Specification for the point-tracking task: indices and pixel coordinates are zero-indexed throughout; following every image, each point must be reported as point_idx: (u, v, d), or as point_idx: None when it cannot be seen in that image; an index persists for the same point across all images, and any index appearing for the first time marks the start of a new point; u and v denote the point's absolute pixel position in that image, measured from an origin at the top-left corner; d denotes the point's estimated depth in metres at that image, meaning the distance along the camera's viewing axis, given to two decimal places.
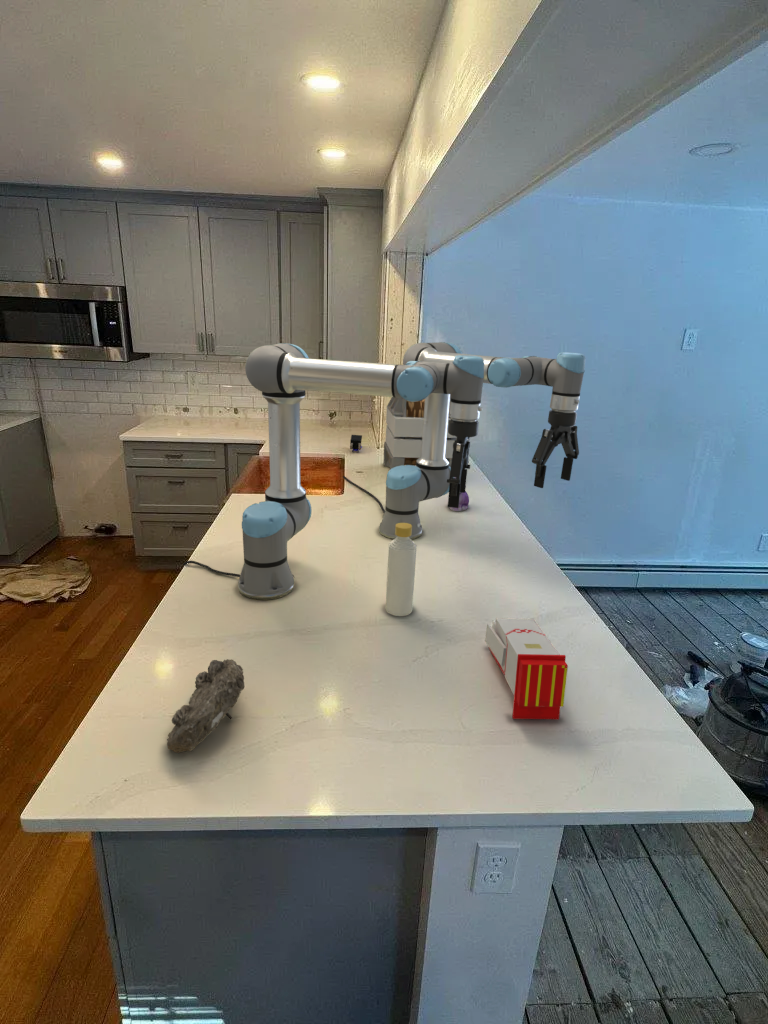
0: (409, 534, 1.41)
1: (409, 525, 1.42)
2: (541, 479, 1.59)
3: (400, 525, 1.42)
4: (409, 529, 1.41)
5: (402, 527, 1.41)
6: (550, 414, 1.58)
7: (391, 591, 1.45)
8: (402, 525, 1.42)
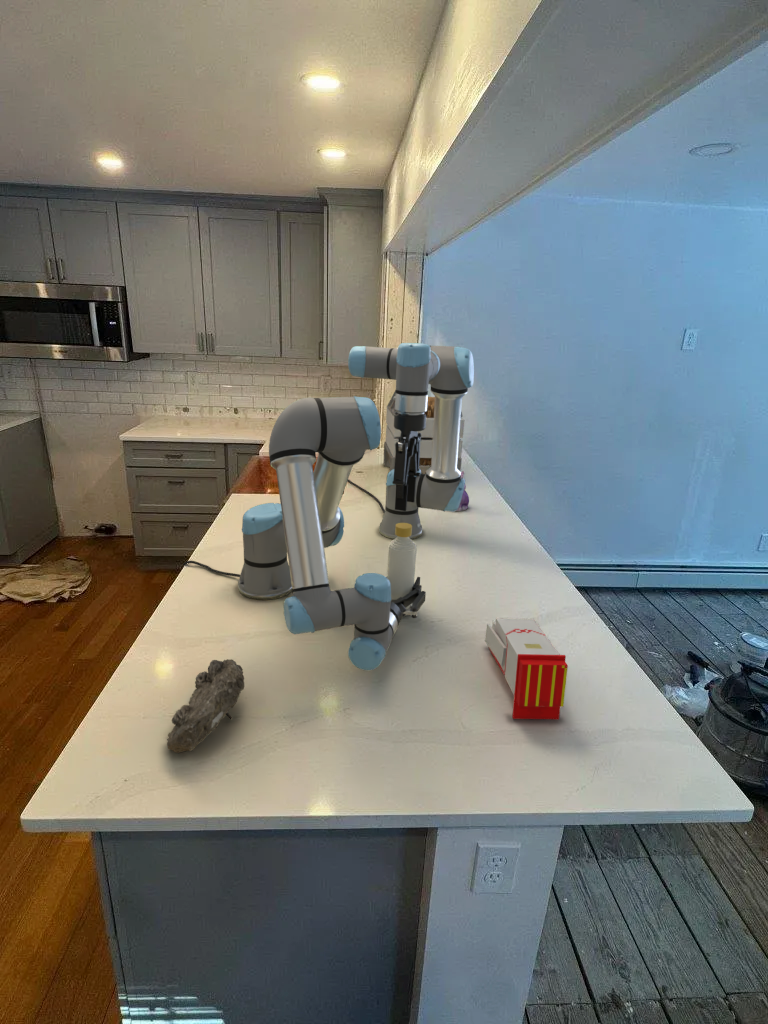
0: (409, 534, 1.41)
1: (409, 525, 1.42)
2: None
3: (400, 525, 1.42)
4: (409, 529, 1.41)
5: (402, 527, 1.41)
6: None
7: (391, 591, 1.45)
8: (402, 525, 1.42)
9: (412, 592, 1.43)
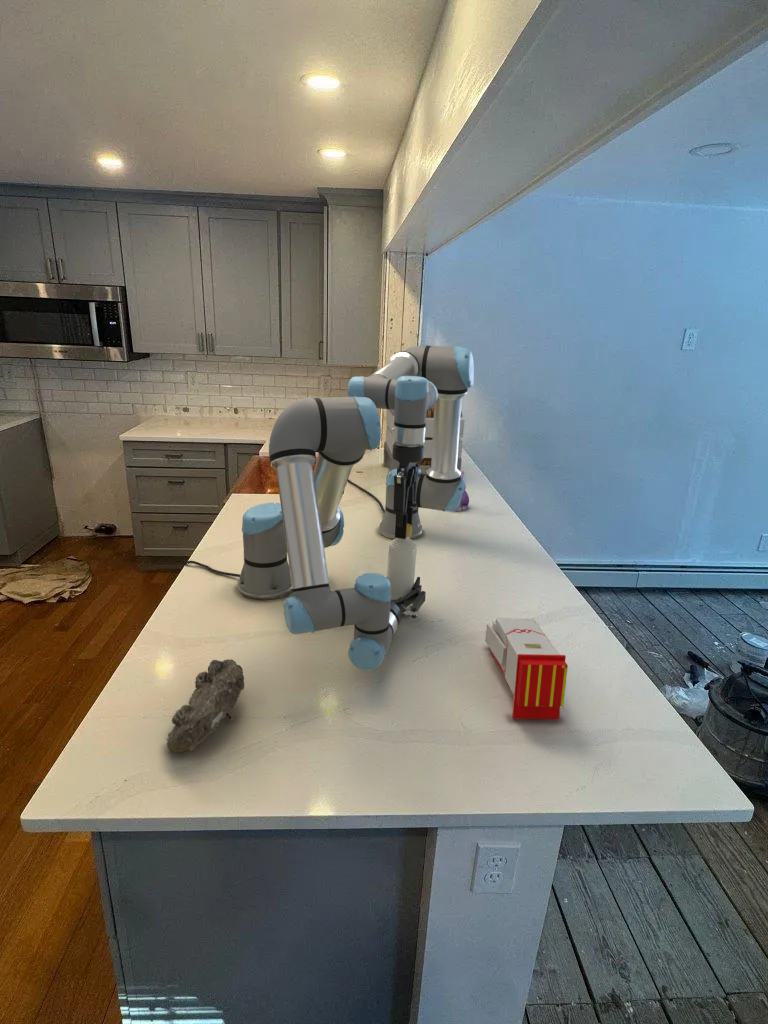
0: (409, 534, 1.41)
1: (409, 525, 1.42)
2: None
3: None
4: (409, 529, 1.41)
5: None
6: None
7: (391, 591, 1.45)
8: None
9: (412, 592, 1.43)
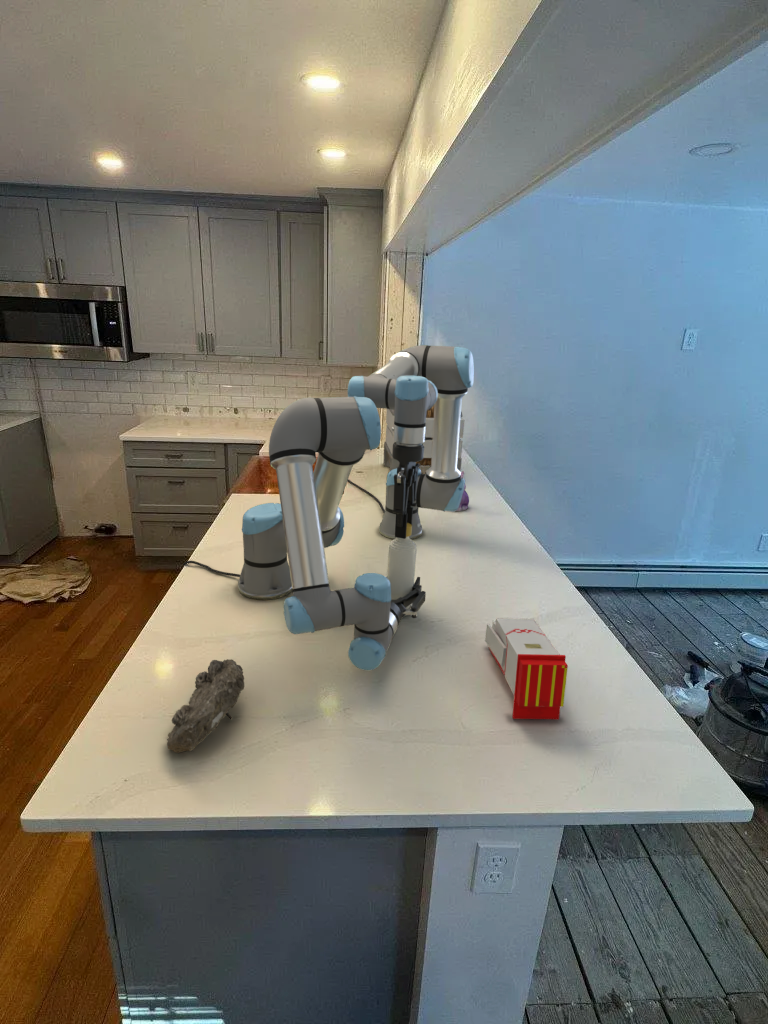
0: None
1: None
2: None
3: None
4: None
5: (409, 526, 1.41)
6: None
7: (391, 591, 1.45)
8: None
9: (412, 592, 1.43)
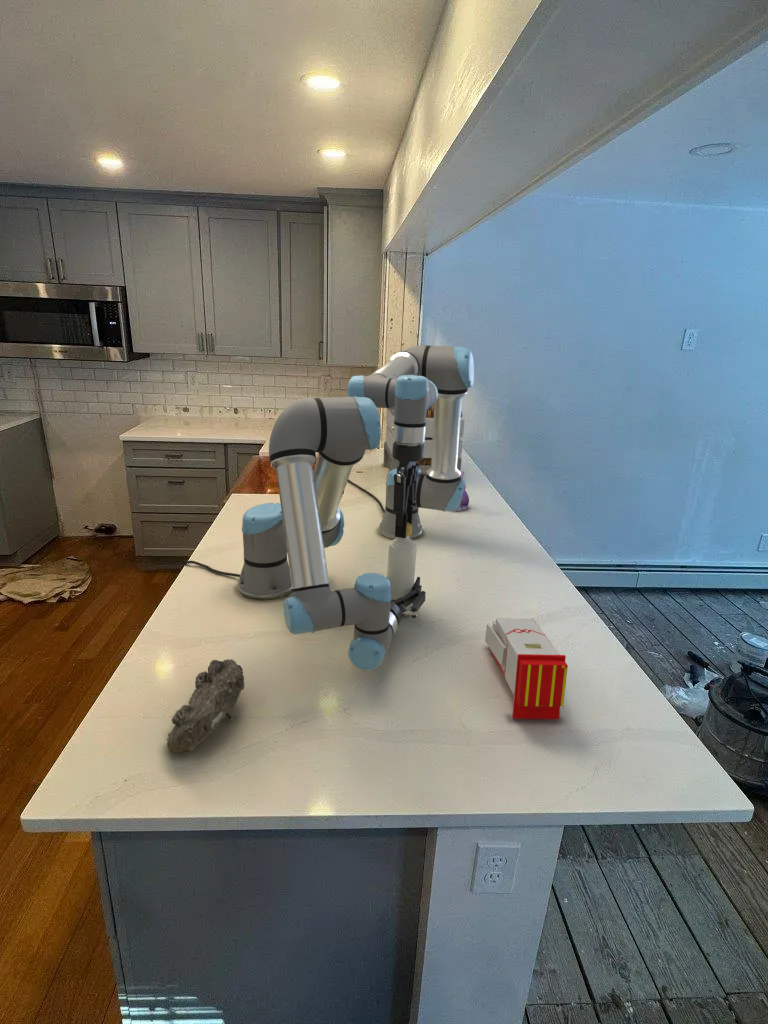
0: None
1: None
2: None
3: (407, 525, 1.42)
4: None
5: None
6: None
7: (391, 591, 1.45)
8: None
9: (412, 592, 1.43)
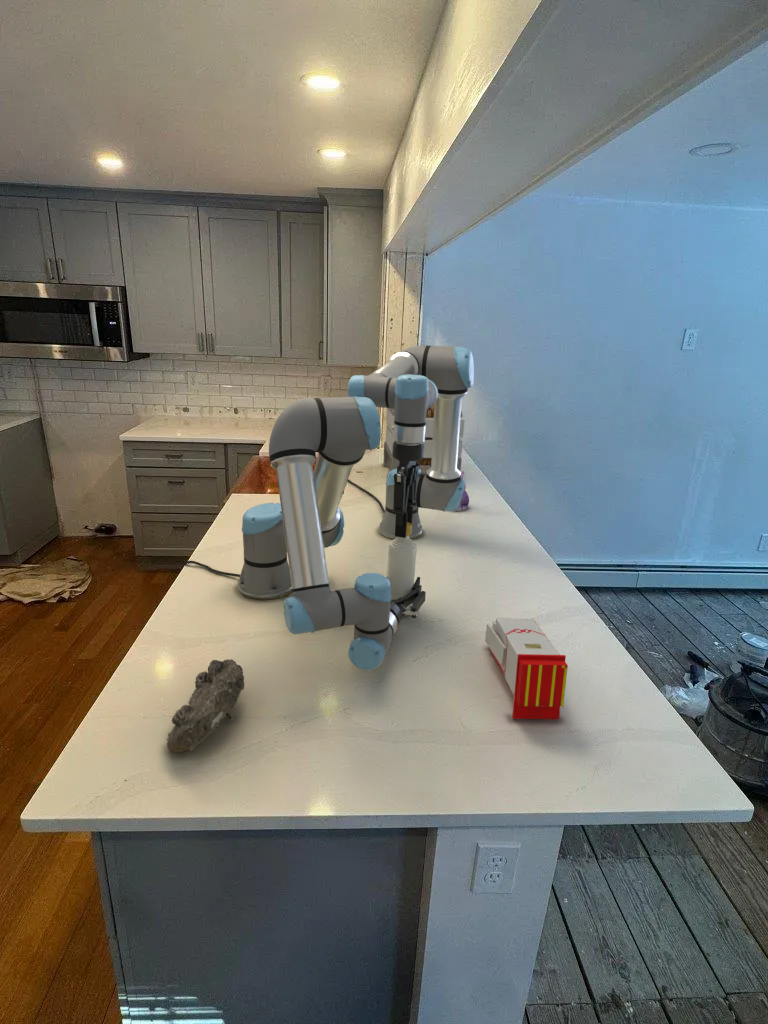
0: None
1: None
2: None
3: None
4: None
5: None
6: None
7: (391, 591, 1.45)
8: None
9: (412, 592, 1.43)
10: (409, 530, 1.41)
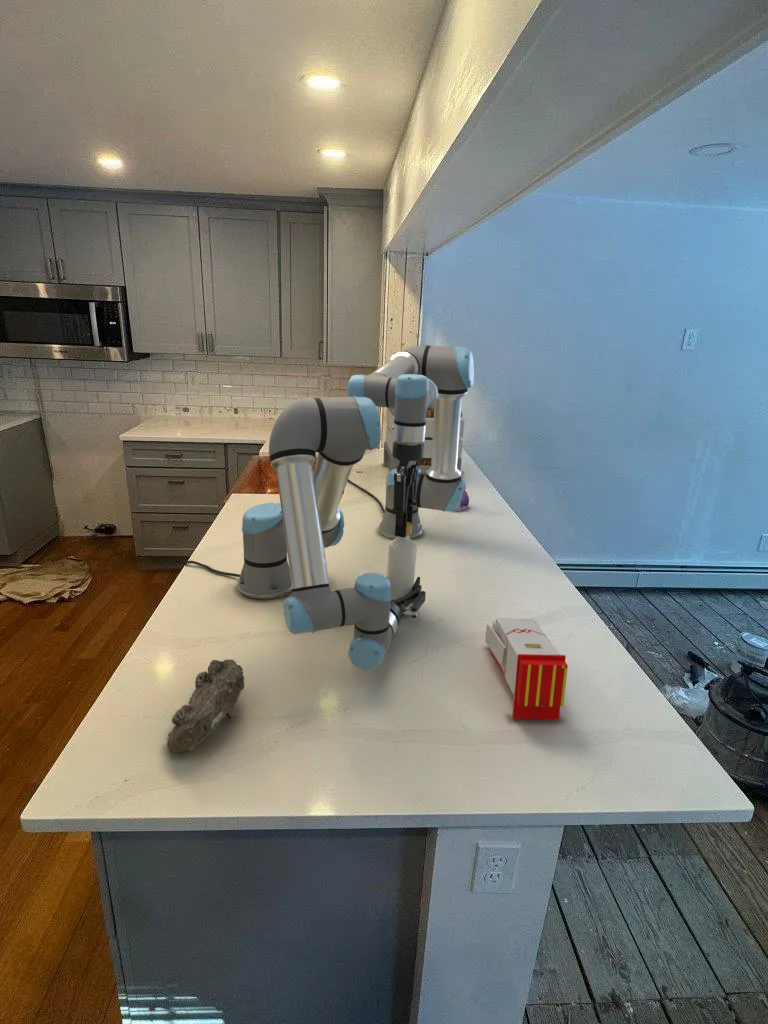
0: (408, 533, 1.41)
1: (409, 524, 1.42)
2: None
3: None
4: (408, 528, 1.40)
5: None
6: None
7: (391, 591, 1.45)
8: None
9: (412, 592, 1.43)
10: None
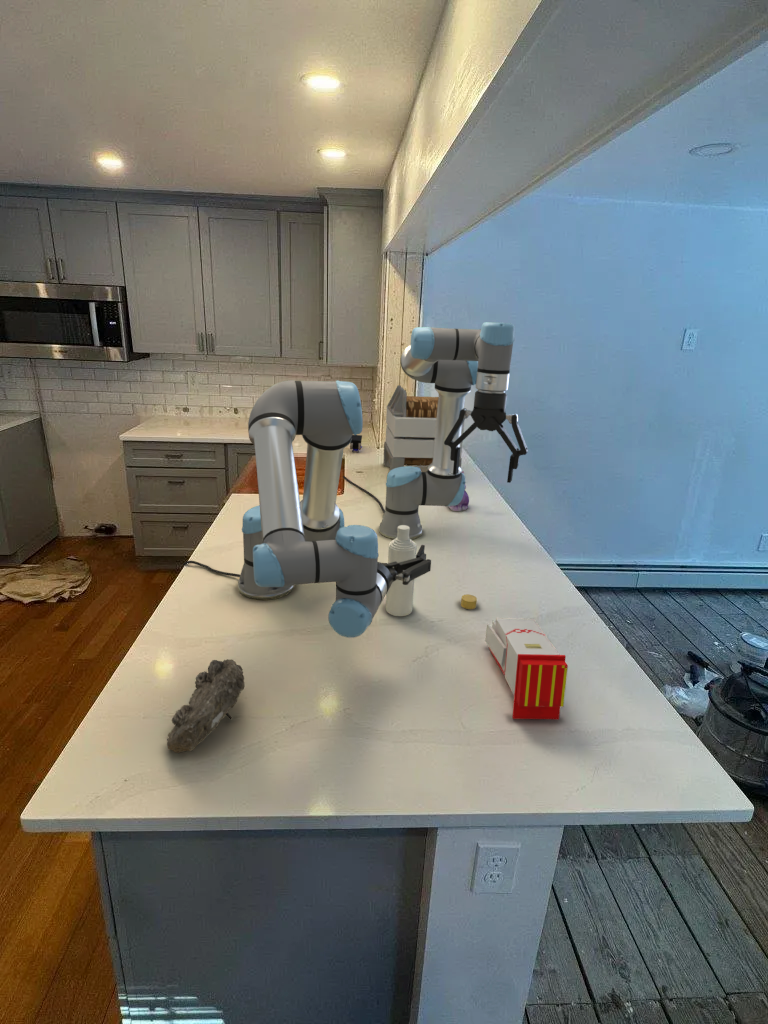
0: None
1: (468, 595, 1.54)
2: None
3: (468, 599, 1.52)
4: None
5: (473, 599, 1.52)
6: None
7: (391, 591, 1.45)
8: (468, 598, 1.52)
9: (414, 559, 1.25)
10: None
